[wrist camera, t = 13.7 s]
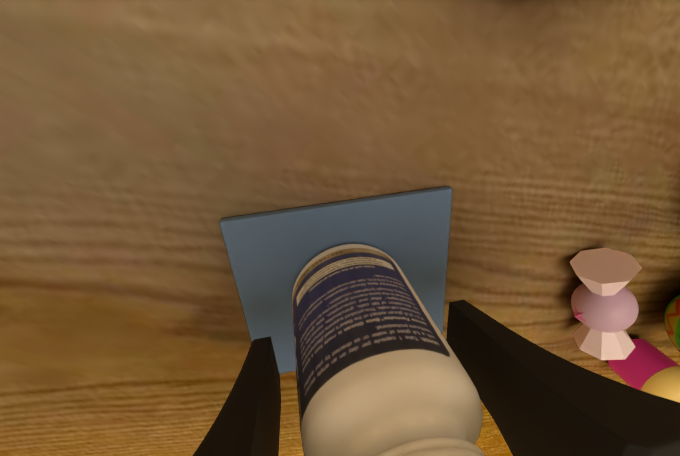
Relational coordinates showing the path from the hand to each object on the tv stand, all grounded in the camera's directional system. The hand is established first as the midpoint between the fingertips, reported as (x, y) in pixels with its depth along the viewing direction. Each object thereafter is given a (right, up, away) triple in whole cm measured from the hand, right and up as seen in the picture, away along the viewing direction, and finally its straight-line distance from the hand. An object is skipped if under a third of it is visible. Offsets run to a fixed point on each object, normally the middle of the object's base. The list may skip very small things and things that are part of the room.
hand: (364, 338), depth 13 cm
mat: (-1, +1, +3) cm, 3 cm away
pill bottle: (-1, +1, +3) cm, 3 cm away
